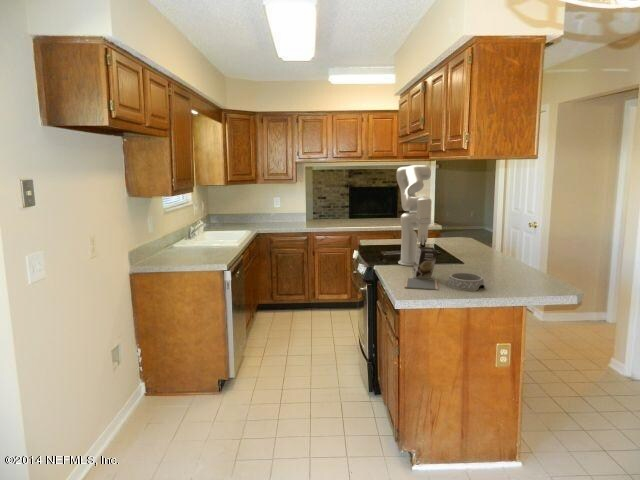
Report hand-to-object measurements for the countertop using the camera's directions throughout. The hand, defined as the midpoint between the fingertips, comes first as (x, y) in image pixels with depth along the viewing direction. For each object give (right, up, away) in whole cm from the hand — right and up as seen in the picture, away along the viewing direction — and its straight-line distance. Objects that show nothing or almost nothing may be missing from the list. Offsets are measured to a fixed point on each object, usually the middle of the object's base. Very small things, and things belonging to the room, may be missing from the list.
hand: (422, 254), depth 247 cm
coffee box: (-1, -12, -1) cm, 12 cm away
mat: (-4, -15, -13) cm, 20 cm away
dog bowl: (+19, -16, -15) cm, 29 cm away
